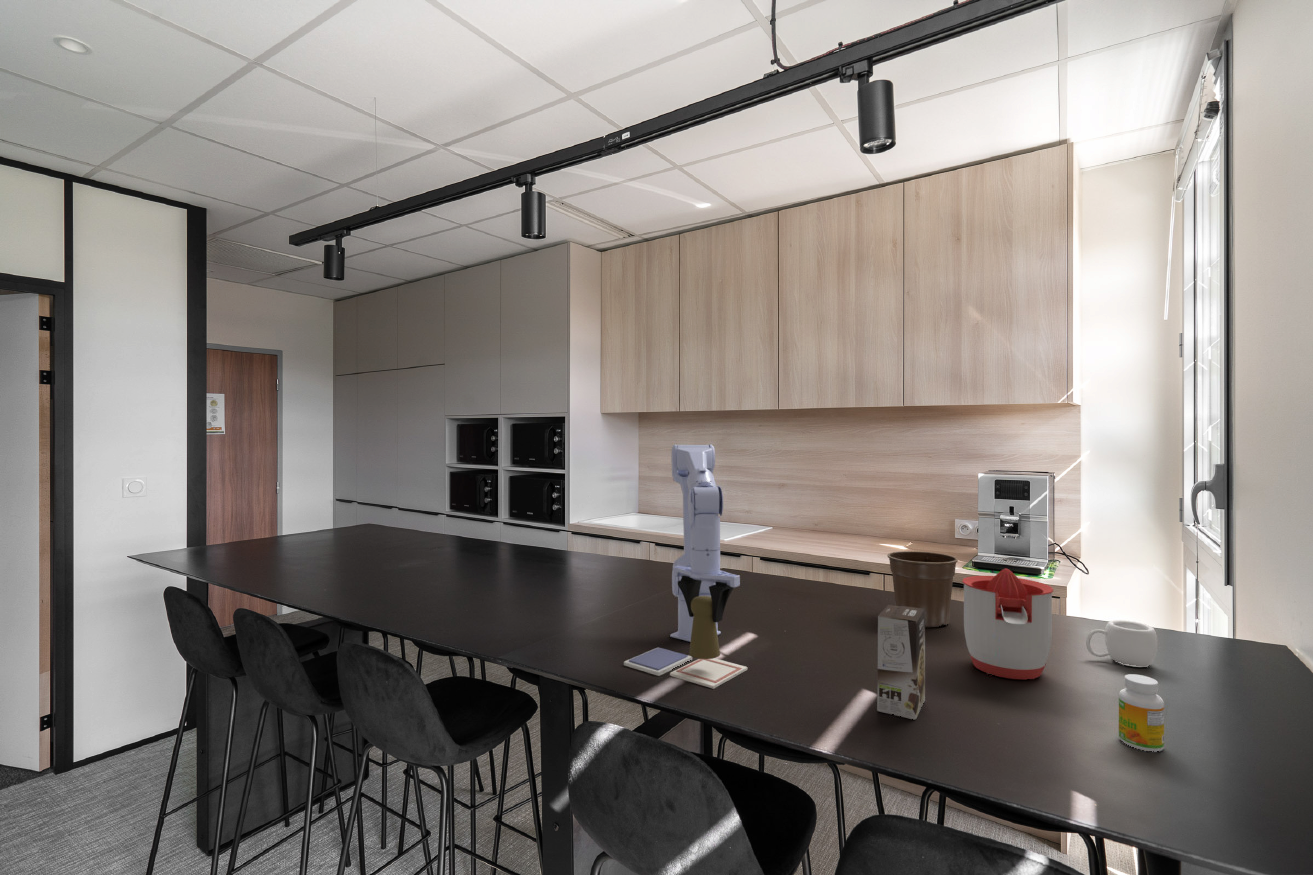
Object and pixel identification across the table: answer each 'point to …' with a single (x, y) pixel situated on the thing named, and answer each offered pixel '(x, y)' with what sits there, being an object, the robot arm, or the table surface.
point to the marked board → (708, 672)
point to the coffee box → (901, 661)
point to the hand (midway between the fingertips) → (705, 618)
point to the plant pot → (924, 583)
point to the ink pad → (657, 661)
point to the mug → (1127, 642)
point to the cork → (703, 630)
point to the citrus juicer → (1008, 624)
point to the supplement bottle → (1141, 714)
